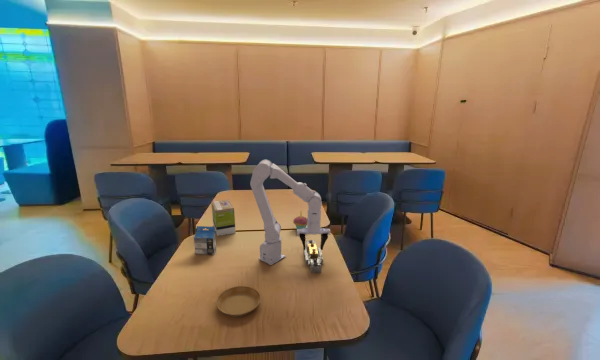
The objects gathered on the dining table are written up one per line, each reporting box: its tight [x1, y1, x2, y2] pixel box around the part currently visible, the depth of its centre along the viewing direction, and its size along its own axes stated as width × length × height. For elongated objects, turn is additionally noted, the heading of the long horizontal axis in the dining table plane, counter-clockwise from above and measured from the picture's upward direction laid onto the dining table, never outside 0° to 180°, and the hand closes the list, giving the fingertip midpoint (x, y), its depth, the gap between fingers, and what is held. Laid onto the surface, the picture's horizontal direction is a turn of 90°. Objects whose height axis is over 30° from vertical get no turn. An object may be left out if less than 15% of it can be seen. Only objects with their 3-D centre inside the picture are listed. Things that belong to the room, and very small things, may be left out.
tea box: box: [210, 199, 236, 237], centre depth 153 cm, size 15×10×15 cm, turn 25°
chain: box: [303, 239, 324, 274], centre depth 125 cm, size 23×8×4 cm, turn 4°
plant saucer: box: [215, 285, 262, 317], centre depth 95 cm, size 15×15×3 cm
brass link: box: [308, 243, 318, 259], centre depth 126 cm, size 9×4×5 cm, turn 4°
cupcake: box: [292, 210, 307, 230], centre depth 155 cm, size 9×8×12 cm
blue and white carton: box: [193, 225, 217, 256], centre depth 128 cm, size 9×4×12 cm, turn 88°
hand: (313, 249), depth 125 cm, fingers open, 7 cm apart
